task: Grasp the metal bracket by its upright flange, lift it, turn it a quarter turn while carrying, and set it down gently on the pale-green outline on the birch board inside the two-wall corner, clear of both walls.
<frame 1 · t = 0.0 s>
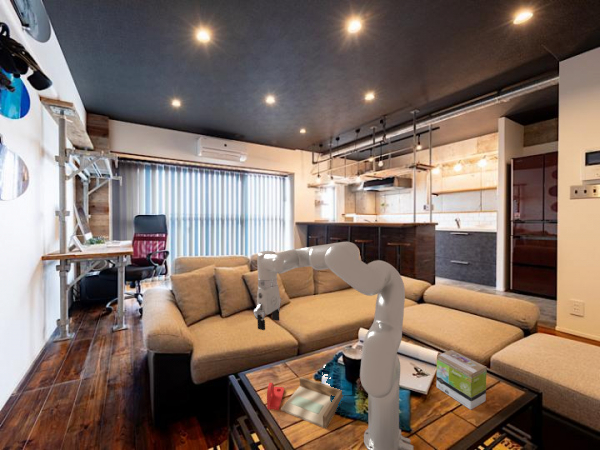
hand: (268, 324, 111), 31 cm above the table, fingers open, 9 cm apart
tea box: (460, 395, 113), on the table
bracket: (276, 399, 113), on the table
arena: (312, 405, 109), on the table
calculator: (337, 381, 125), on the table
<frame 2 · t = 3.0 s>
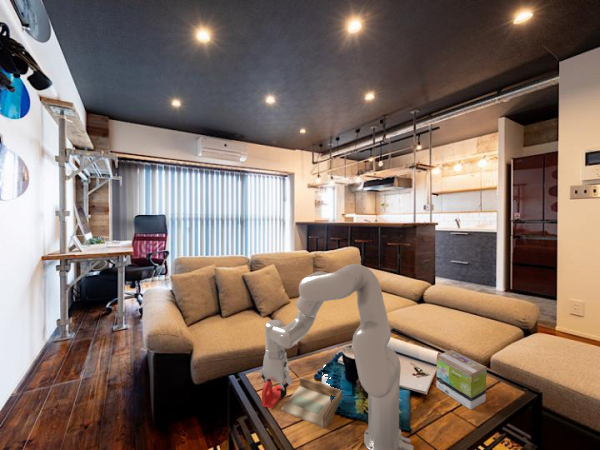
hand: (275, 393, 113), 2 cm above the table, fingers open, 6 cm apart
bracket: (274, 398, 114), on the table
everything else where it was.
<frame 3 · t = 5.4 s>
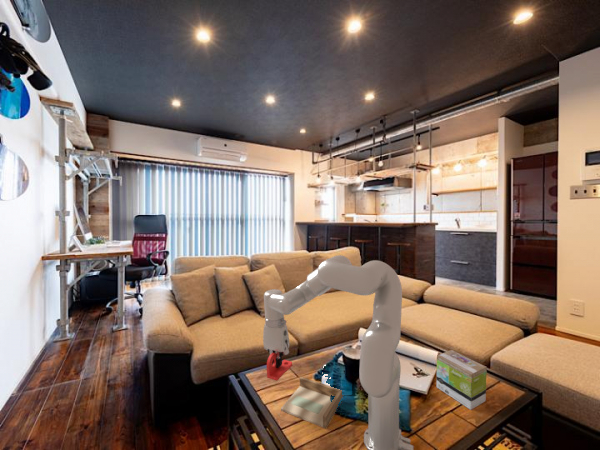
hand: (277, 365, 112), 14 cm above the table, fingers closed on bracket
bracket: (280, 371, 111), point 12 cm above the table, touching gripper
everything else where it was.
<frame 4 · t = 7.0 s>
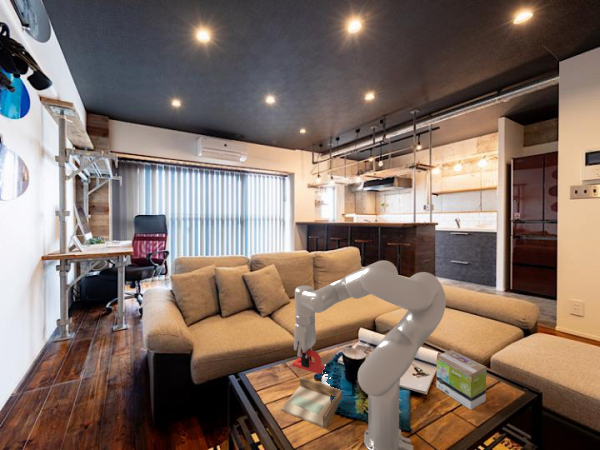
hand: (306, 365, 107), 17 cm above the table, fingers closed on bracket
bracket: (308, 367, 109), point 15 cm above the table, touching gripper
everything else where it was.
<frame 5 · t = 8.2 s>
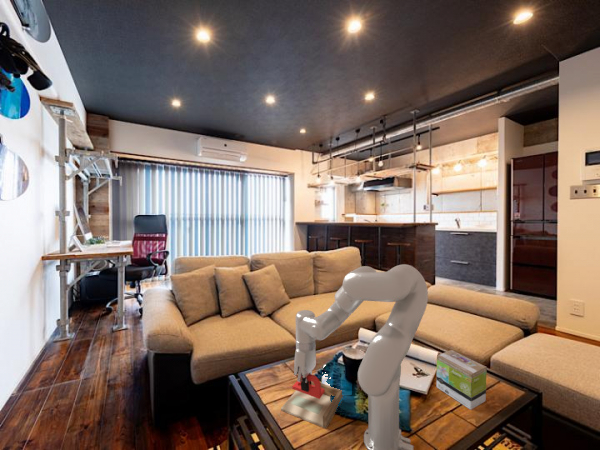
hand: (306, 388, 108), 7 cm above the table, fingers closed on bracket
bracket: (308, 390, 110), point 5 cm above the table, touching gripper
everything else where it was.
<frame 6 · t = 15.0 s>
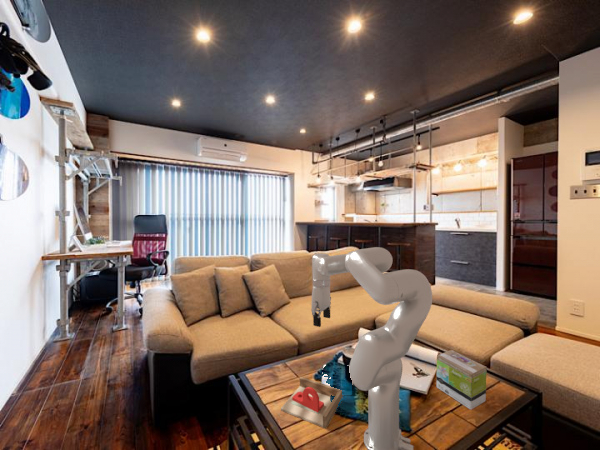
hand: (322, 321, 119), 28 cm above the table, fingers open, 9 cm apart
bracket: (307, 403, 109), point 1 cm above the table, touching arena
everything else where it was.
at the end: bracket inside the target area (0.9 cm from its centre), point 0.7 cm above the table; bracket moved 13.2 cm from its start; the gripper is holding nothing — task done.
